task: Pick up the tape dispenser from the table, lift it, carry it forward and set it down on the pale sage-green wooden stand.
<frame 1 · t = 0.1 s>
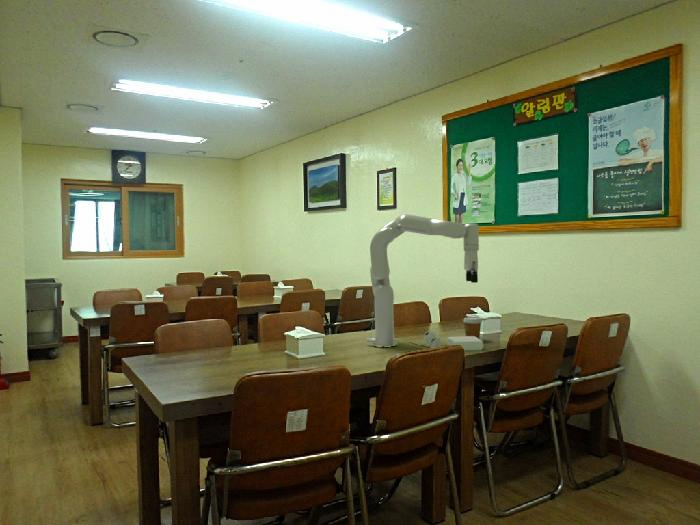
hand: (471, 281, 270), 31 cm above the table, tool pointing down, fingers open, 9 cm apart
stand: (464, 347, 260), on the table
disposable coffee cup: (472, 341, 275), on the table
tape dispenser: (432, 349, 257), on the table
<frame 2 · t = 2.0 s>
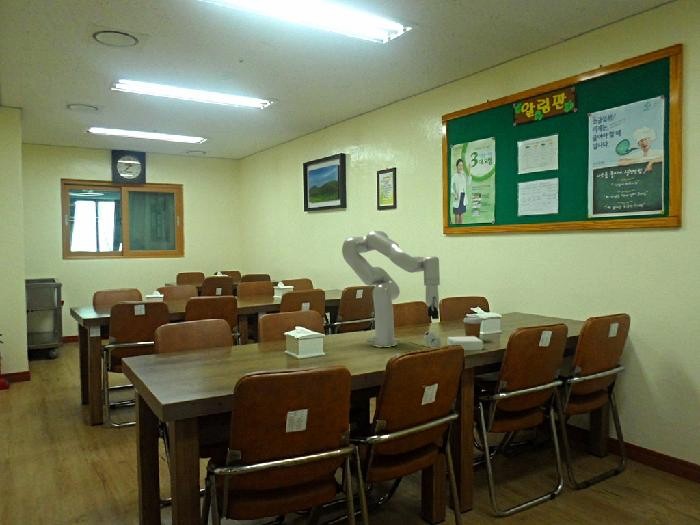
hand: (433, 317, 257), 15 cm above the table, tool pointing down, fingers open, 9 cm apart
nothing on the table moved.
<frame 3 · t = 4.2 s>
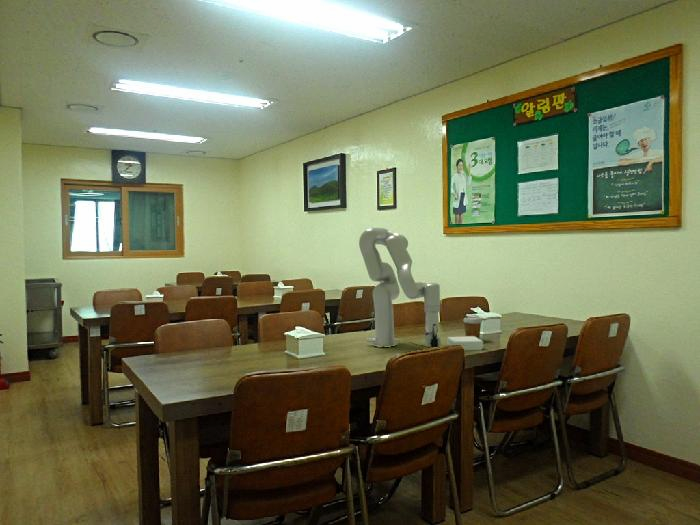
hand: (432, 345, 257), 2 cm above the table, tool pointing down, fingers closed on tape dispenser, 6 cm apart
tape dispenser: (433, 349, 257), on the table, touching gripper
everything else where it was.
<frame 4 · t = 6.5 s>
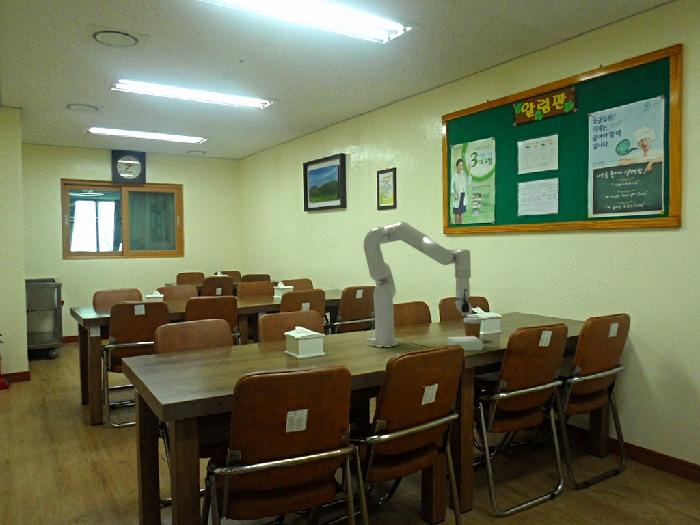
hand: (463, 311, 259), 18 cm above the table, tool pointing down, fingers closed on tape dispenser, 6 cm apart
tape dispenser: (463, 315, 259), point 16 cm above the table, touching gripper
everything else where it was.
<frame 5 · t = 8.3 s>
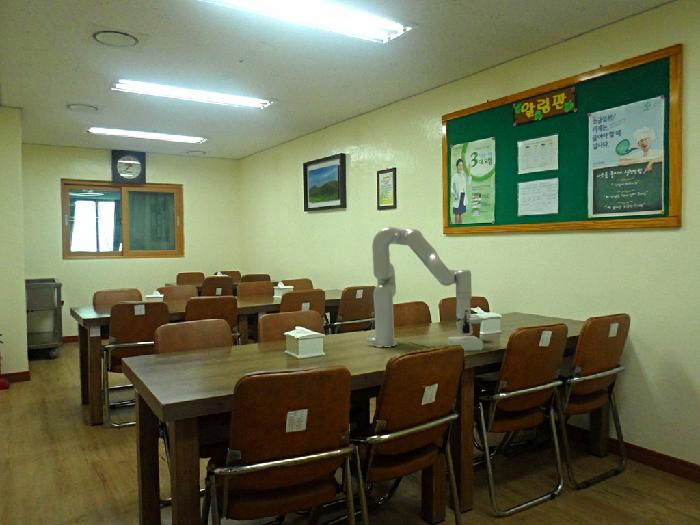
hand: (464, 331, 260), 8 cm above the table, tool pointing down, fingers closed on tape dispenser, 6 cm apart
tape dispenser: (464, 335, 260), point 6 cm above the table, touching gripper
everything else where it was.
when the fingers open (7 cm above the table, at t = 9.3 s): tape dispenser drops 1 cm, resting on stand.
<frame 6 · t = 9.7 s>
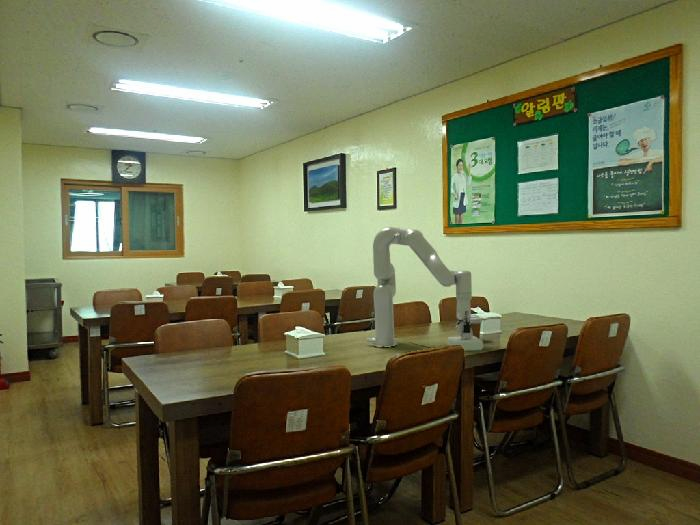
hand: (464, 331, 260), 8 cm above the table, tool pointing down, fingers open, 9 cm apart
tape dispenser: (464, 339, 260), point 4 cm above the table, touching stand
everything else where it was.
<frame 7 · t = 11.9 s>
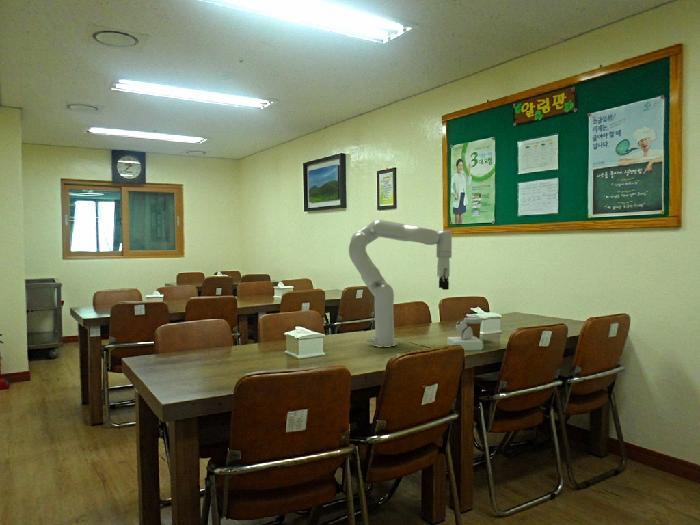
hand: (443, 288, 270), 28 cm above the table, tool pointing down, fingers open, 9 cm apart
nothing on the table moved.
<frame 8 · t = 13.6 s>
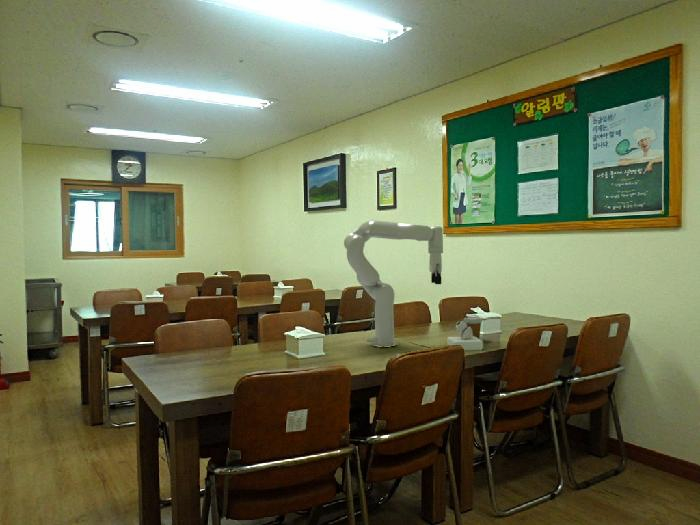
hand: (436, 283, 276), 30 cm above the table, tool pointing down, fingers open, 9 cm apart
nothing on the table moved.
at the end: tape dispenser inside the target area on the stand (0.1 cm from its centre), point 4.0 cm above the stand's base; the gripper is holding nothing; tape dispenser moved 16.5 cm from its start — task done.
